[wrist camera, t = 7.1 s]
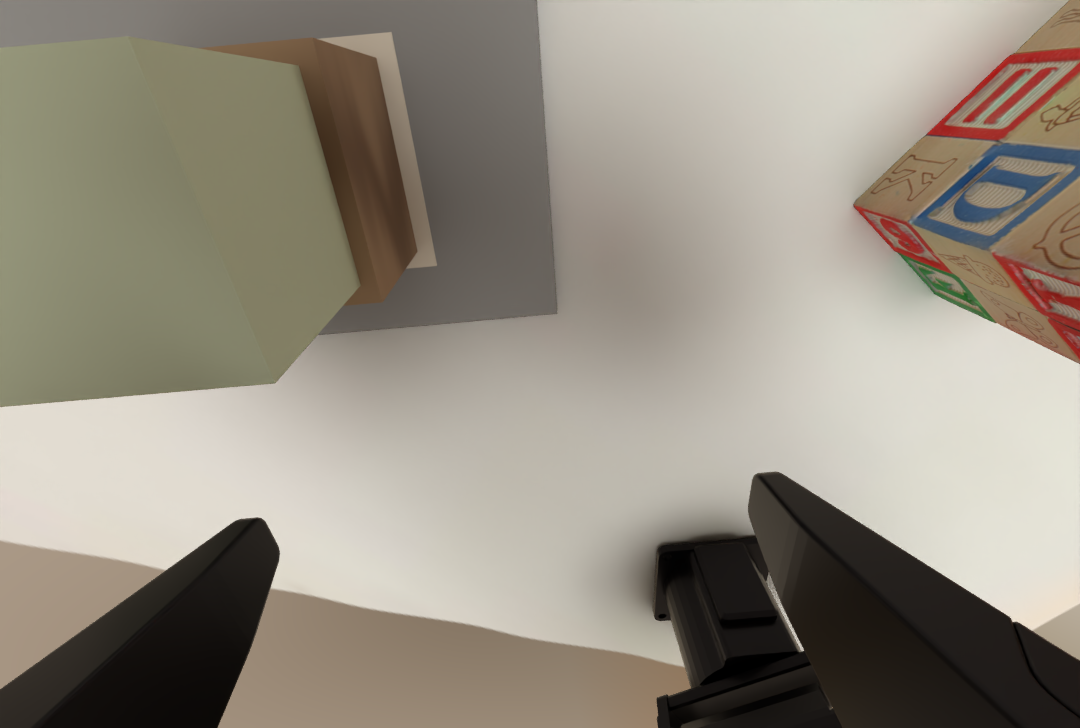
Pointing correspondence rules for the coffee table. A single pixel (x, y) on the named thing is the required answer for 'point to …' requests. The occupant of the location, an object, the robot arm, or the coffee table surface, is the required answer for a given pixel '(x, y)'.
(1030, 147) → the stack of blocks
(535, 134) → the mat
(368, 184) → the walnut base
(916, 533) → the coffee table surface
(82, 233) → the sage cube
